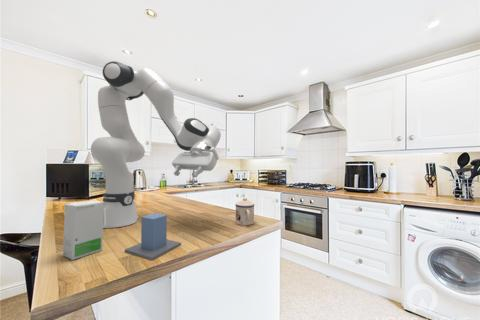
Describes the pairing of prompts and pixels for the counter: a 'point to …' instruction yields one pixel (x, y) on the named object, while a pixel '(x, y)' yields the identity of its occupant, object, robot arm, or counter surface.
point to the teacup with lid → (244, 212)
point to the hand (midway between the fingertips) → (184, 175)
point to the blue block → (153, 231)
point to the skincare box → (82, 229)
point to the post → (152, 254)
